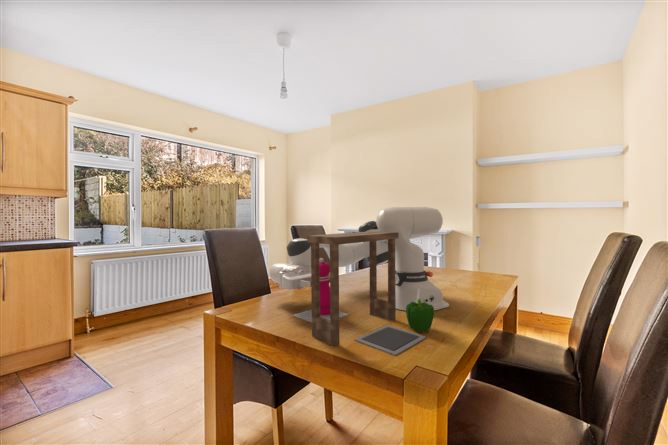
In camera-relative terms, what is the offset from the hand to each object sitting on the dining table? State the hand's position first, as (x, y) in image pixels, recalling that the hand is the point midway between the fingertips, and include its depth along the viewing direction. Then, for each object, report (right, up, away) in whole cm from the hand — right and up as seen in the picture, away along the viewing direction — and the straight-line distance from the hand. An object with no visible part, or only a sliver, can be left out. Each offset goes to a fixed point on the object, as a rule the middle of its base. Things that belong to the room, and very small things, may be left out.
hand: (321, 282), depth 109 cm
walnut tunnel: (+12, -12, -11) cm, 20 cm away
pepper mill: (+2, -11, +2) cm, 12 cm away
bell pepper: (+31, -12, -13) cm, 36 cm away
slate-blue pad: (0, -12, +1) cm, 12 cm away
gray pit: (+21, -12, -21) cm, 32 cm away
